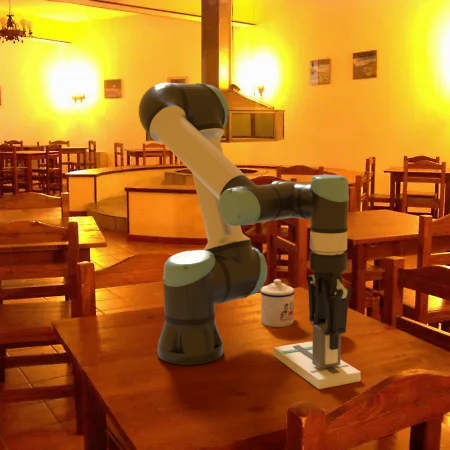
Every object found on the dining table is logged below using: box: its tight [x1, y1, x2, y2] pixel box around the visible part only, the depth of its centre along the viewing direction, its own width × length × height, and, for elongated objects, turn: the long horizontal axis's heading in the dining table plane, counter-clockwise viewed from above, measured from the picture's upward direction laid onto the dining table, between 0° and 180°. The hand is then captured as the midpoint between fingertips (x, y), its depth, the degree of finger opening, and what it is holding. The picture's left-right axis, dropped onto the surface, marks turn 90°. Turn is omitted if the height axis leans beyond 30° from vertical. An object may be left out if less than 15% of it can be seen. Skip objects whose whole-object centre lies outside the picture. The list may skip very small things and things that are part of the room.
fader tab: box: [312, 323, 342, 369], centre depth 135 cm, size 5×3×8 cm, turn 113°
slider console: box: [273, 340, 362, 390], centre depth 140 cm, size 10×20×2 cm, turn 23°
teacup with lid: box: [259, 278, 295, 328], centre depth 172 cm, size 12×9×12 cm
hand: (326, 359), depth 136 cm, fingers closed on fader tab, 3 cm apart
